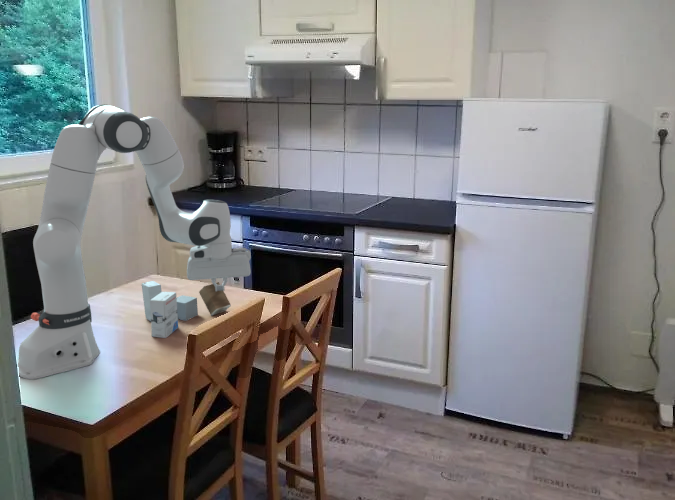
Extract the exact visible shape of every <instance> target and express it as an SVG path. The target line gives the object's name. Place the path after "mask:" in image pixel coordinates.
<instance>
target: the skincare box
mask: <svg viewBox="0 0 675 500" xmlns="http://www.w3.org/2000/svg"><path fill="white" fill-rule="evenodd" d="M141 292H142V299H143V307H144V314H145V315H144V316H145V319H146V320H148V321H149V322H151V312H150V300H151V299H152V298H154V297H155V296H157V295H158V294H160V293H161V292H163V290H162V285H161V284H160V283H158V282H156V281H155V280H151V281H145V282H142V283H141Z"/></svg>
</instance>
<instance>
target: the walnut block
mask: <svg viewBox="0 0 675 500" xmlns="http://www.w3.org/2000/svg"><path fill="white" fill-rule="evenodd" d="M216 284H217V285H221V284H220V282H217V281H216ZM198 294H199V295H200V297H201V299H202V301H203V303H204V305H205V307H206V308H207V311H208V313H209V314H210V316H215V315H217V314H219V313H224V312H226V311H227V310H228V309H229V308H230V307H231V303H230V300H229V299H228V297H227V295H226V293H225V291H215V286H214V285H213V283H211V284H208V285H207V284H206V285H204V286H203V287H202V288H201V289H200V290H199V291H198Z"/></svg>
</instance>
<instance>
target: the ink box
mask: <svg viewBox="0 0 675 500" xmlns="http://www.w3.org/2000/svg"><path fill="white" fill-rule="evenodd" d="M150 312H151V321H150V323H151V324H150V327H151V328H150V329H151V337H154V338H163V339H166V338H168V337H169V336H170V335H171V334H173V333H174V332H175V331H176V330H177V329H178V328H179V319H178V315H177V292H176V291H162V292H161V293H160V294H158V295H157V296H155V297H154V298H152V299H151V300H150Z"/></svg>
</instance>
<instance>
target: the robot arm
mask: <svg viewBox="0 0 675 500" xmlns="http://www.w3.org/2000/svg"><path fill="white" fill-rule="evenodd" d="M107 149H109V150H110V151H114V152H116V153H119V154H127V153H128V154H129V153H133V152H135V153H136V154H137V157H138V159H139V161H140V163H141V166H142V168H143V170H144V172H145V183H146V187H147V190H148V192H149V196H150V198H151V201H152V204H153V206H154V209H155V211H156V214H157V219H158V226H159V231H160V233H161V236H162V238H163V239H164V240H166V241H167V242H170V243H179V244H183V245H189V246H190V245H191V246H193V247H190V250H189V257H188V259H187V263H186V264H187V266H186V267H187V268H186V278H187V279H188V280H189V281H199V280H210V281H211V284H213V285H214V286H215V291H224V292H225V286H226V285H227V282H228V279H229V278H241V277H243V278H244V277H249V276H250V275H251V274H252V272H251V271H252V270H251V265H250V260H252V259H251V258H252V257H251V256H252V255H251V254H252V253H251V251H250V250H249V249H248V248H246V247H237V248H234V247H233V246H232V236H231V232H230V231H231V223H232V222H231V214H230V208H229V205H228V203H227V202H226V201H223V200H220V199H210V198H209V199H204V200H202V201H203V202H202V204H201V205H200V207H199V208H197V209H196V210H195V211H193V212H192V213H191V212H185V211H183V210H181V209H180V208H179V207H178V205H177V204H176V201H175V199H174V196H173V193H172V190H171V187H170V185H171V184H174V183H175V182H176V181H177V180H178V179H179V178H180V177H181V175H183V172H184V170H185V169H184V168H185V163H184V159H183V156H182V153H181V152H180V149H179V147H178V145H177V143H176V141H175V139H174V137H173V135H172V133H171V132H170V130H169V129H168V127H167V126H166V124H165V123H164V121H162V120H161V118H158V117H157V116H146V117H142V118H140V117H138V116H137V115H135V114H134V113H132V112H128V111H126V110H125V109H124V108H121V107H117V106H113V105H110V104H99V105H95V106H93V107H91V108H90V109H89V110H88V111H87V112H86V114H85V115H84V117H82V119H81V120H80V121H79V123H78V124H69V125H67V126H64V127H63V128H62V129H61V131H60V133H59V135H58V137H57V139H56V142H55V145H54V149H53V151H52V155H51V159H50V164H49V169H48V174H47V177H46V183H45V188H44V194H43V201H42V206H41V212H40V217H39V223H38V227H37V230H36V231H35V232H36V233H35V234H34V237H33V239H32V240H33V241H32V244H33V245H32V246H33V253H34V257H35V263H36V267H37V271H38V272H37V273H38V276H39V281H40V284H41V285H40V286H41V294H42V301H43V302H42V303H43V310H42V313H38V312H32V313H31V315H30V319H32V320H33V321H35V322H38V326H37V327H36V328H35V329H34V330H33V331H32V332H31V333H30V334H29V335H28V336H27V337H26V338H25V339H24V340H23V341H22V342H21V343H20V345H19V348H18V367H19V375H20V376H19V377H21V378H24V379H27V380H28V379H30V380H36V379H42V378H44V377H48V376H53V375H56V374H60V373H65V372H67V371H71V370H75V369H79V368H83V367H86V366H87V367H88V366H91V365H92V364H93V362H94V359H96V358H97V357H98V356H99V355H100V352H101V351H100V347H99V346H98V344H97V341H96V338H95V336H94V335H95V334H94V331H93V327H92V310H91V305H90V303H89V301H88V300H89V299H88V290H87V280H86V274H85V270H84V269H85V268H84V262H83V257H82V256H83V254H82V246H81V245H82V244H81V243H82V237H83V231H84V228H85V223H86V219H87V214H88V210H89V206H90V205H89V204H90V200H91V197H92V192H93V186H94V181H95V179H96V177H95V176H96V173H97V167H98V162H99V159H100V157H101V156H102V154H103V152H104V151H105V150H107ZM232 247H233V248H232ZM217 279H222V280H223V281H222V283H221V284H220V285H217V284H216V283H217Z"/></svg>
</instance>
